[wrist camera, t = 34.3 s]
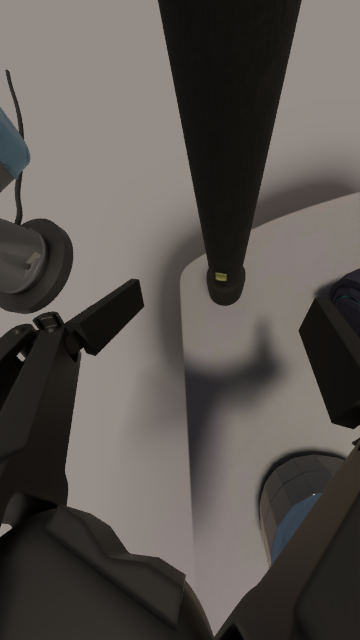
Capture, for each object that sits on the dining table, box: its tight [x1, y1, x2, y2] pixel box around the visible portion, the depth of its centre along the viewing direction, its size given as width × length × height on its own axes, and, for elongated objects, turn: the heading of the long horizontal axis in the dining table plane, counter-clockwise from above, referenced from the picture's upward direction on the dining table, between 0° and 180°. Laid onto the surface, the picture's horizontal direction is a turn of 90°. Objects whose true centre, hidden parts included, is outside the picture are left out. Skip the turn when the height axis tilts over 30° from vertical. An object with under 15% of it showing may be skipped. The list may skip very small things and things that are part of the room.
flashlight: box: [158, 0, 301, 306], centre depth 15 cm, size 5×24×5 cm
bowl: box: [259, 454, 345, 568], centre depth 16 cm, size 15×15×6 cm
